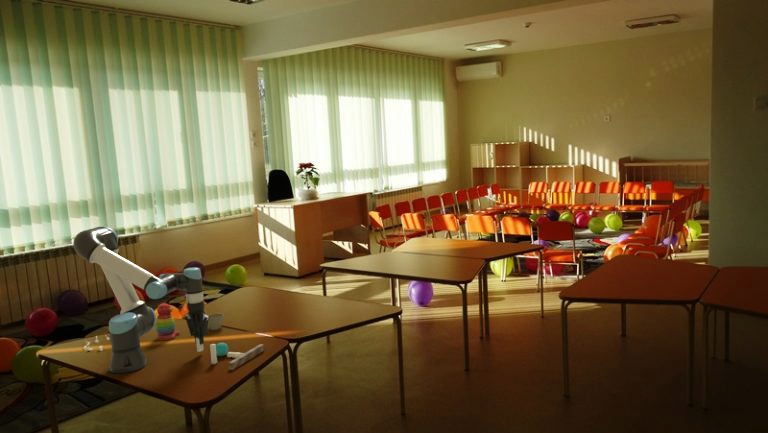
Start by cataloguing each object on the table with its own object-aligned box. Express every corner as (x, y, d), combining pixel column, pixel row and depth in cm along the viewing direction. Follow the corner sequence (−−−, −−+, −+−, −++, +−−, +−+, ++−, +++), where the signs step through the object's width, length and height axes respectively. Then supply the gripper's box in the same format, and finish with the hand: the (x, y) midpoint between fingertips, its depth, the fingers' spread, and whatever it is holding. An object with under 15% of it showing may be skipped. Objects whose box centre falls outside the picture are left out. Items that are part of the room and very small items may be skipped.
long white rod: (232, 370, 249) (232, 363, 249) (229, 369, 250) (228, 362, 249) (264, 350, 271) (263, 344, 271) (260, 350, 272) (259, 344, 271)
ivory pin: (226, 357, 264) (242, 358, 261) (227, 351, 265) (243, 353, 262) (230, 357, 266) (245, 358, 263) (230, 351, 267) (246, 353, 264)
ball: (221, 342, 264) (210, 345, 266) (224, 356, 264) (213, 358, 265) (229, 340, 270) (218, 342, 272) (232, 353, 269) (221, 355, 271)
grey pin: (215, 364, 257) (213, 345, 256) (210, 364, 258) (208, 345, 257) (218, 362, 259) (216, 344, 258) (214, 362, 260) (212, 343, 259)
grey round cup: (204, 328, 313) (202, 315, 312) (223, 324, 317) (221, 312, 316) (206, 333, 304) (205, 319, 303) (226, 329, 308) (225, 316, 307)
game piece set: (114, 336, 309) (113, 329, 308) (133, 343, 296) (132, 335, 296) (76, 348, 294) (75, 340, 293) (94, 355, 281) (93, 347, 281)
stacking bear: (173, 340, 296) (169, 306, 294) (153, 341, 296) (149, 307, 294) (181, 333, 306) (177, 300, 304) (162, 334, 307) (158, 301, 305)
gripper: (212, 299, 269) (217, 348, 272) (189, 298, 274) (194, 346, 277) (201, 304, 262) (206, 354, 265) (178, 302, 267) (183, 352, 270)
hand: (200, 350), depth 271 cm, fingers closed
